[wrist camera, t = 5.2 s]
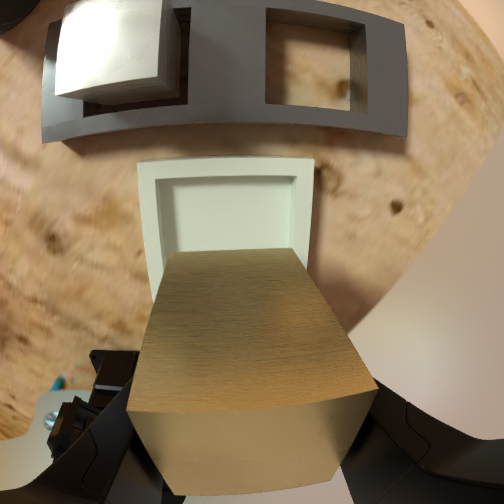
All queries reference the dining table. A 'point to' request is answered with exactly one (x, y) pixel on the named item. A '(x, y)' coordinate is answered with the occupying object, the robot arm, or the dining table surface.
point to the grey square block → (119, 51)
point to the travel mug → (14, 12)
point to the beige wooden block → (245, 376)
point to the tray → (223, 205)
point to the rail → (251, 73)
